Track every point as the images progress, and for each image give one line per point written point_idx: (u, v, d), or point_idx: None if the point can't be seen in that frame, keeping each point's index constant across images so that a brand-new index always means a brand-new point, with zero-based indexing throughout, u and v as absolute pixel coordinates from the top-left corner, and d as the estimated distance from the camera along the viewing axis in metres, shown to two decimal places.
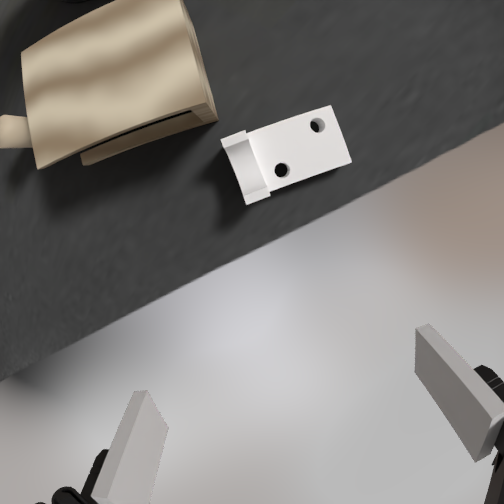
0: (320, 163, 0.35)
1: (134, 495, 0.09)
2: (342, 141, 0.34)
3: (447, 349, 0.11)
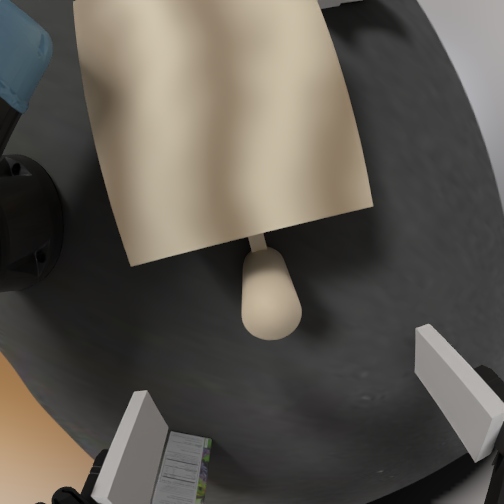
0: None
1: (134, 495, 0.09)
2: None
3: (447, 349, 0.11)
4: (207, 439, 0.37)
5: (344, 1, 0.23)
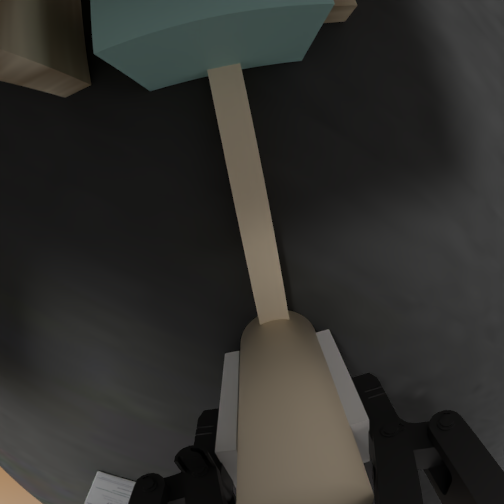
0: None
1: None
2: None
3: (334, 355, 0.13)
4: None
5: None
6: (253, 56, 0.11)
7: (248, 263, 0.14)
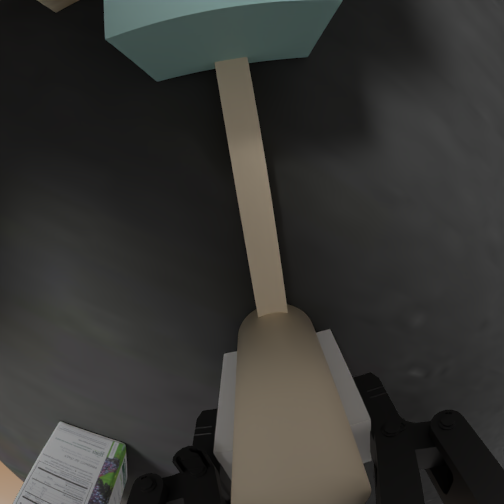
0: None
1: None
2: None
3: (335, 354, 0.13)
4: (117, 443, 0.19)
5: None
6: (260, 50, 0.11)
7: (248, 254, 0.14)
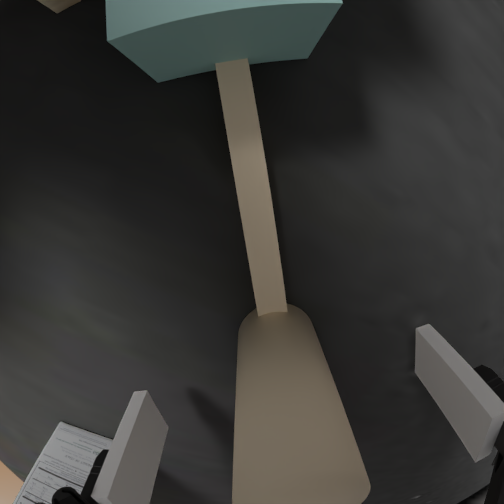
0: None
1: (134, 495, 0.09)
2: None
3: (447, 349, 0.11)
4: None
5: None
6: (261, 52, 0.11)
7: (249, 254, 0.14)
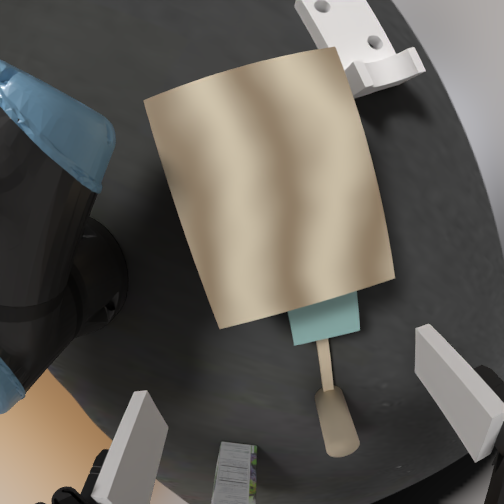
0: (361, 8, 0.25)
1: (134, 495, 0.09)
2: None
3: (447, 349, 0.11)
4: (253, 446, 0.43)
5: (376, 90, 0.30)
6: None
7: (322, 374, 0.38)
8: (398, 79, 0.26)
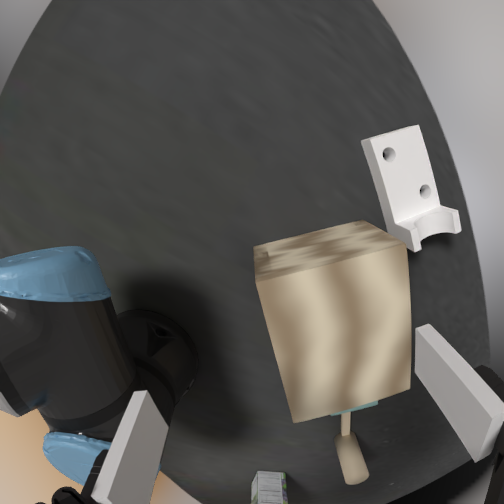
0: (420, 155, 0.33)
1: (134, 495, 0.09)
2: (402, 131, 0.33)
3: (447, 349, 0.11)
4: (282, 473, 0.52)
5: None
6: None
7: (342, 425, 0.47)
8: (437, 232, 0.34)
